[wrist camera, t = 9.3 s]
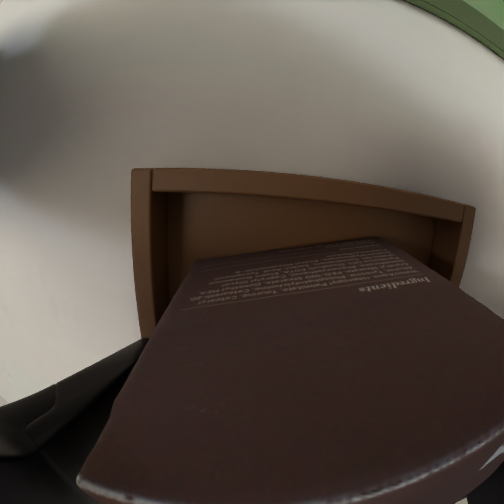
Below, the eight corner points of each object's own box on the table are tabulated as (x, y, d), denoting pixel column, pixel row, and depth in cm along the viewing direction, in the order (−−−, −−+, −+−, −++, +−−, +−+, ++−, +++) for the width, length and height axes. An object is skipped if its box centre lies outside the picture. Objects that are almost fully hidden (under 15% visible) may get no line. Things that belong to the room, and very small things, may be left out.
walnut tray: (172, 402, 11) (162, 434, 9) (158, 169, 8) (130, 168, 6) (378, 404, 11) (391, 433, 9) (440, 199, 8) (476, 207, 6)
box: (193, 253, 8) (52, 472, 1) (381, 232, 8) (574, 362, 1) (226, 395, 10) (207, 562, 3) (369, 375, 10) (433, 522, 3)
